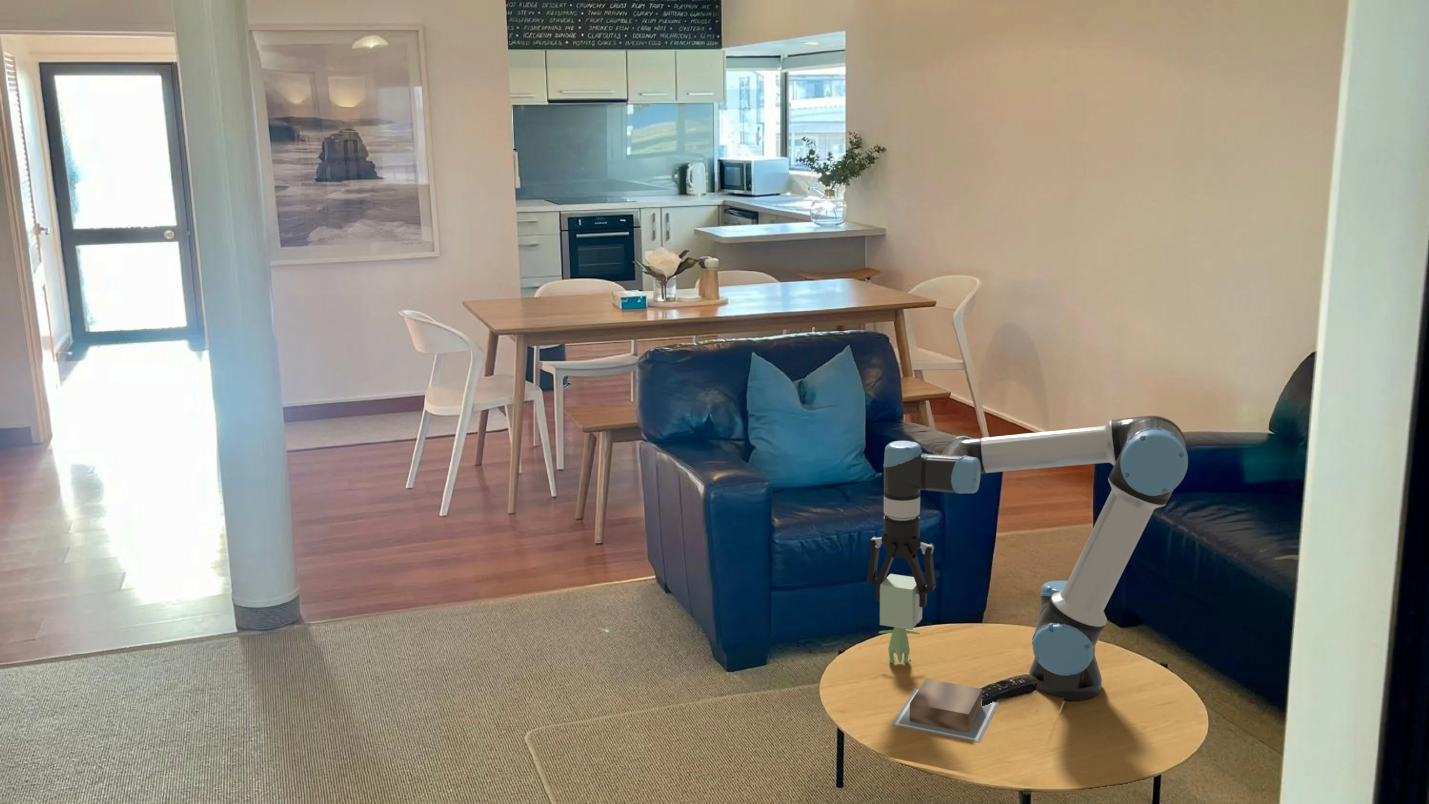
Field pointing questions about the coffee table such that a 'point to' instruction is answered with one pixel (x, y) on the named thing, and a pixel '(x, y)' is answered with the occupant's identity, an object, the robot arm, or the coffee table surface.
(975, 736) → the grey square plate
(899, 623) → the sage block
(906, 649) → the toy
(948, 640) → the coffee table surface
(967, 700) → the foundation block
